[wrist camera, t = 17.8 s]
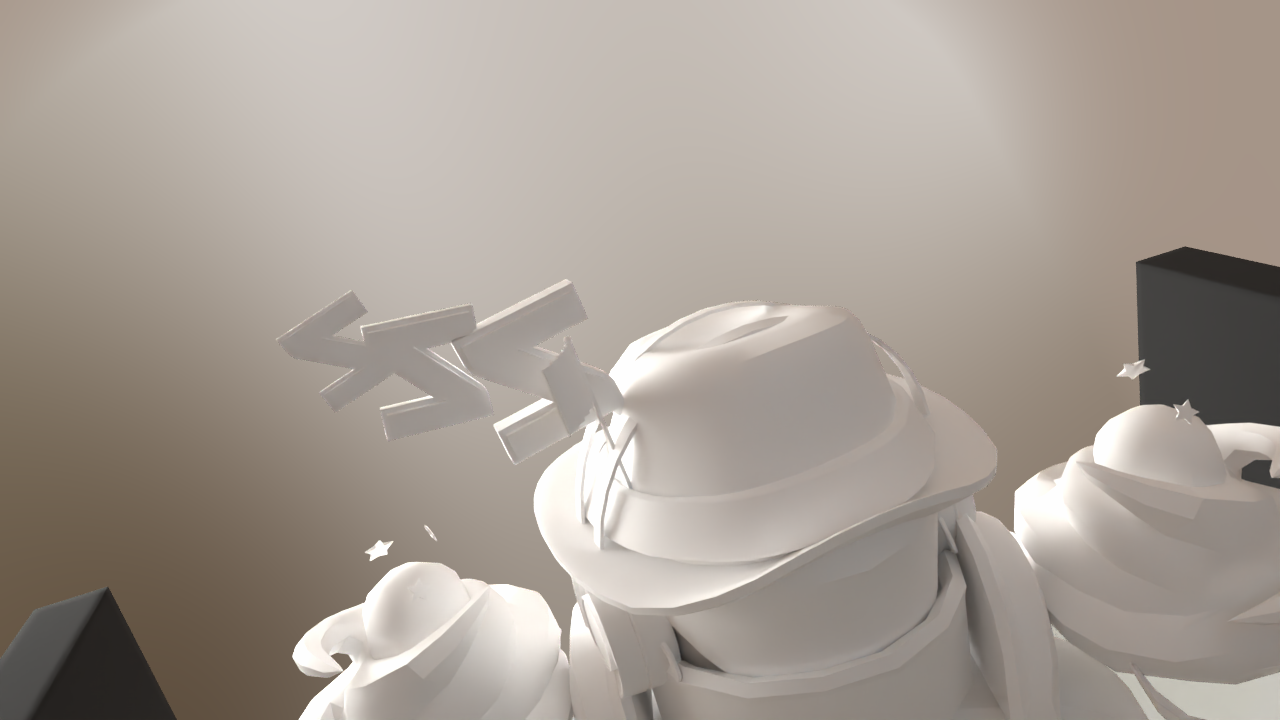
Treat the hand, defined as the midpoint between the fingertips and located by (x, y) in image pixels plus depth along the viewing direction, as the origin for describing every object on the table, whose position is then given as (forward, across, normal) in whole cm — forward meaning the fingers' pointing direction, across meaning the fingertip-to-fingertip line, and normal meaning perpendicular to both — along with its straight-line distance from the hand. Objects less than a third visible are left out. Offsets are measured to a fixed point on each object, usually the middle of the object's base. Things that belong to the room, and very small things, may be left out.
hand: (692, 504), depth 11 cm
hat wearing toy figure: (-3, 0, -8) cm, 8 cm away
